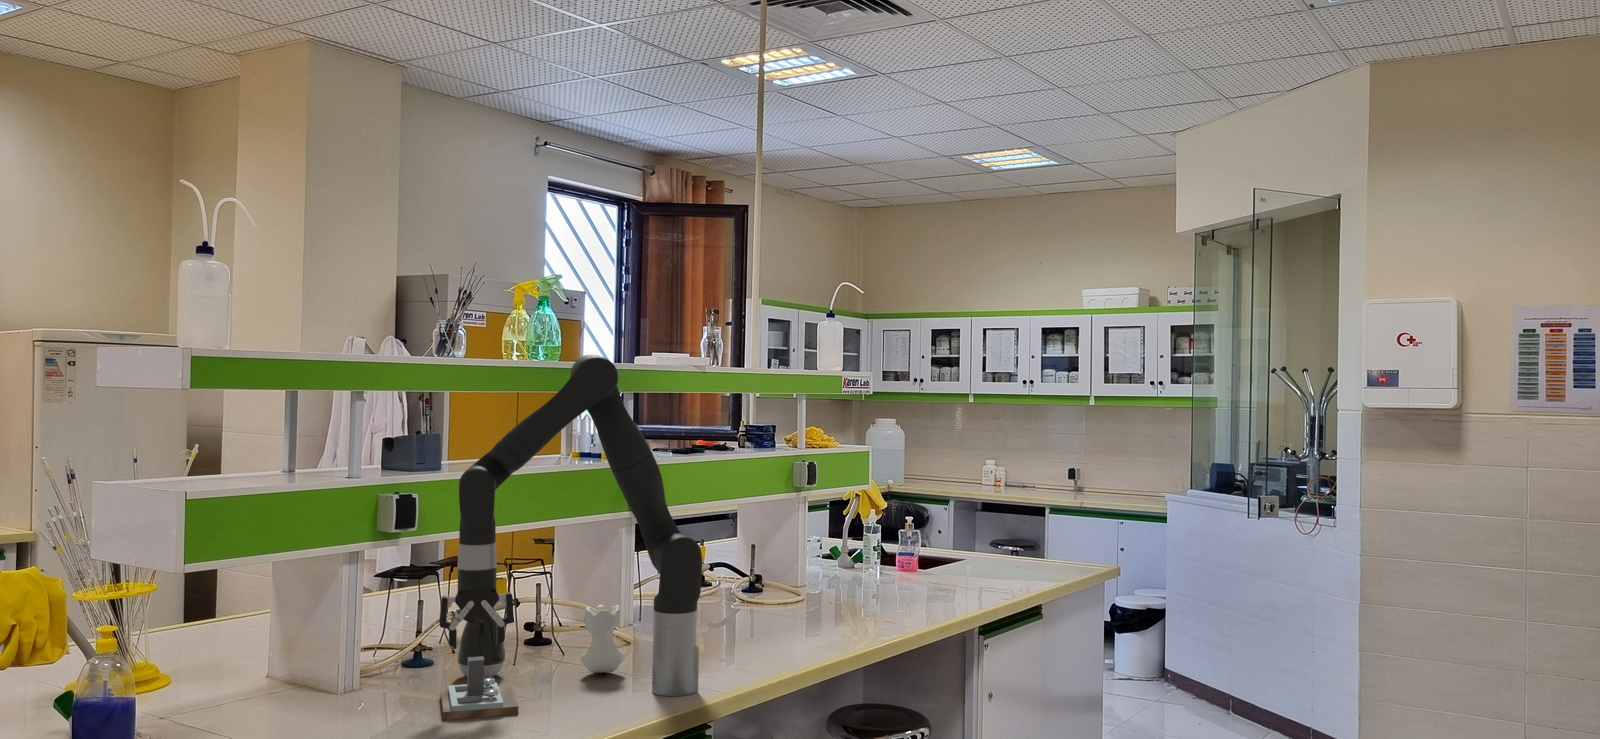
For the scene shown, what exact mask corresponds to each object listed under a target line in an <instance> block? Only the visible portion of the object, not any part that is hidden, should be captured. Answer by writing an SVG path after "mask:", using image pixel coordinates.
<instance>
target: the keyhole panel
mask: <svg viewBox="0 0 1600 739" xmlns="http://www.w3.org/2000/svg"><path fill="white" fill-rule="evenodd" d="M498 687H499V686H498V683H497V682H496V681H495V683H494V684H491V685H490V688H485V685H484V657H483V656H481V657H468V667H467V677H466V684H465V683H464V684H456V685H455V684H452V685H448V688H447V689H448V690H447V691H448V692H449V698H450V704H451V710H452V711H465V710H478V709H491V708H503V700H502V697H501V694H500V691H499V688H498ZM485 689H498V695H496V696H494V698H493V700H488V696H484V690H485ZM456 691H467V692H456ZM479 701H481V702H480V703H467V704H458V703H465V702H479Z"/></svg>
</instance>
